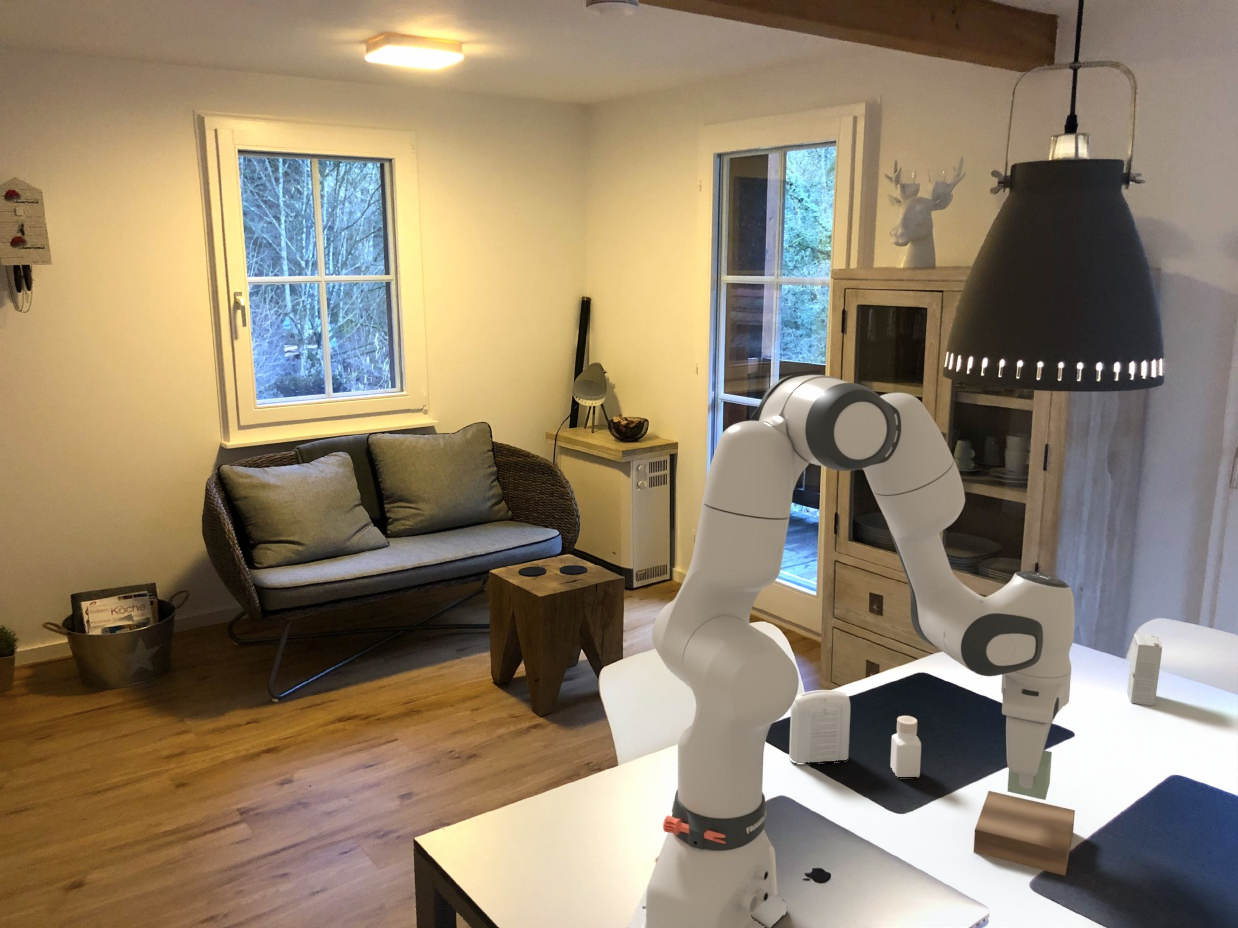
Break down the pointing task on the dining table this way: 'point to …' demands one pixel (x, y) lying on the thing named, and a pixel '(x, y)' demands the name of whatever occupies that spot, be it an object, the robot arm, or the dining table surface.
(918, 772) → the salt shaker
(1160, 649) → the skincare box
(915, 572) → the robot arm
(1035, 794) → the green cube
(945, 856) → the dining table surface
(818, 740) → the white rounded block
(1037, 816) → the walnut block
